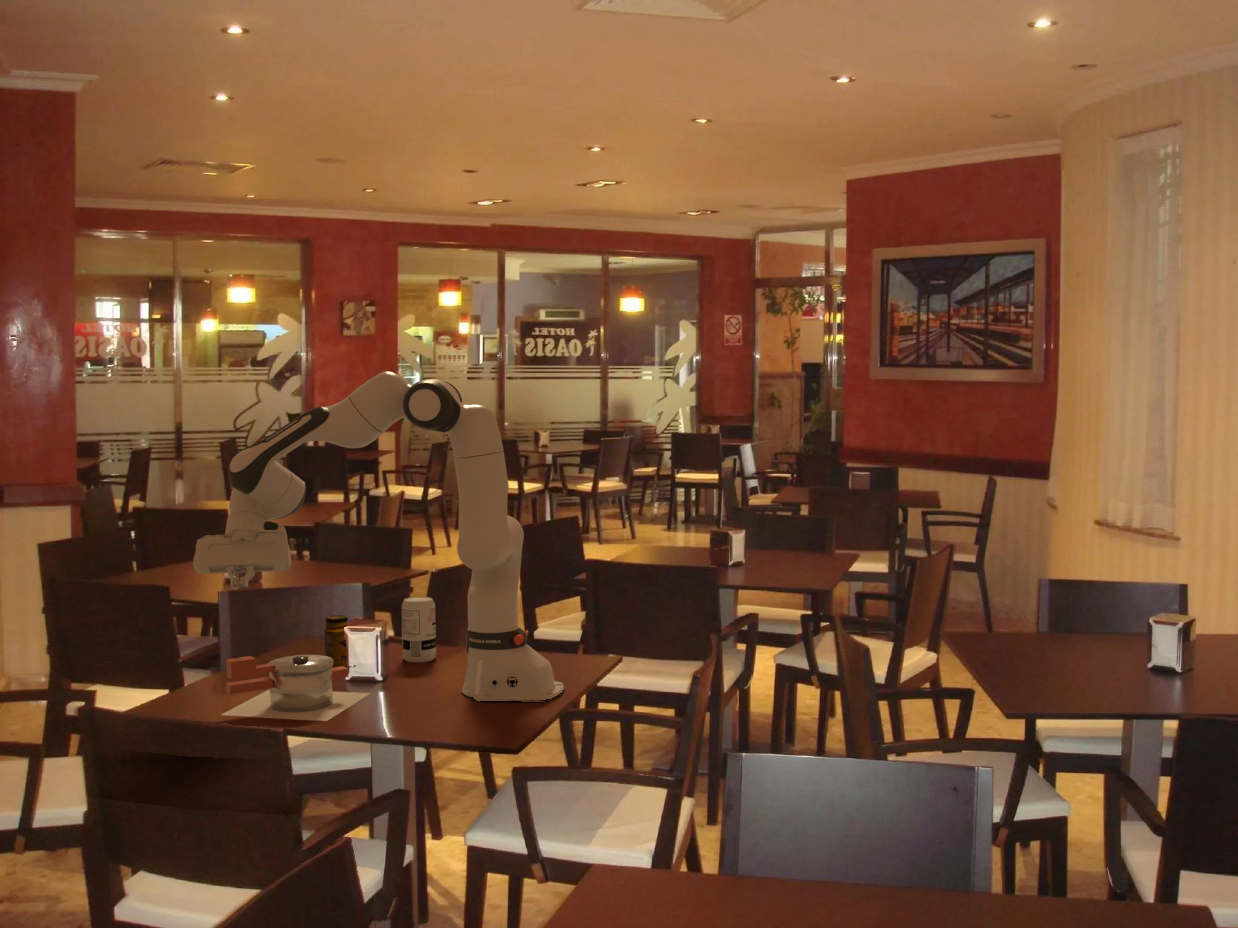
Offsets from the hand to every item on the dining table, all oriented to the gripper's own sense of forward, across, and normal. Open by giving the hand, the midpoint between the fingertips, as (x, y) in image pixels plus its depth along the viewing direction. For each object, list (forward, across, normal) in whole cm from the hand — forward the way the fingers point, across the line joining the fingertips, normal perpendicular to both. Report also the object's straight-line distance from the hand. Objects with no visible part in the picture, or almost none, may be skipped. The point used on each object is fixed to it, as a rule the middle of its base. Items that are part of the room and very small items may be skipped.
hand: (238, 586), depth 272 cm
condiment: (-6, +14, +44) cm, 46 cm away
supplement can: (-9, +35, +46) cm, 59 cm away
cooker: (+20, +10, +17) cm, 28 cm away
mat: (+19, +11, +18) cm, 29 cm away
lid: (+15, +9, +10) cm, 20 cm away
